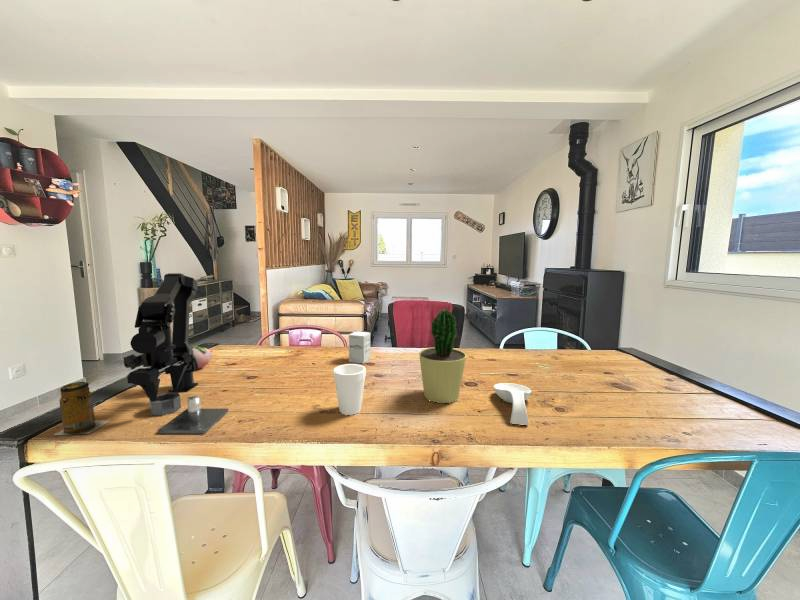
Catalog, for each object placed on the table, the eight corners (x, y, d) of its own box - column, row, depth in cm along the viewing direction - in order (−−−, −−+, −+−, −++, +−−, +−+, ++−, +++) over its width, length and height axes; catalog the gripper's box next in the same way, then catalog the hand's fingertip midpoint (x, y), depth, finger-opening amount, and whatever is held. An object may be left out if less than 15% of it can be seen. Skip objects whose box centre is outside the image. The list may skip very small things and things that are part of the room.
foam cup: (332, 405, 100) (331, 365, 98) (361, 401, 103) (361, 362, 102) (337, 420, 91) (336, 376, 90) (369, 415, 95) (369, 372, 93)
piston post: (187, 411, 96) (185, 389, 95) (228, 411, 96) (226, 389, 95) (158, 433, 84) (155, 408, 83) (204, 433, 84) (202, 408, 83)
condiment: (77, 421, 89) (72, 380, 88) (110, 420, 90) (106, 379, 89) (52, 436, 82) (45, 391, 81) (88, 434, 83) (82, 390, 81)
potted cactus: (430, 383, 118) (432, 303, 114) (470, 393, 110) (474, 307, 106) (409, 399, 105) (411, 309, 101) (454, 411, 97) (457, 313, 93)
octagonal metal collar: (162, 404, 100) (161, 392, 99) (185, 404, 100) (184, 392, 99) (145, 415, 93) (143, 402, 92) (169, 415, 93) (168, 402, 92)
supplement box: (348, 362, 141) (348, 334, 139) (356, 357, 148) (355, 330, 146) (363, 364, 138) (363, 335, 137) (370, 359, 145) (370, 332, 143)
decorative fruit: (180, 371, 128) (178, 346, 127) (199, 364, 136) (197, 341, 135) (199, 373, 126) (197, 348, 124) (216, 366, 133) (215, 343, 132)
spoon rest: (491, 390, 114) (492, 371, 113) (526, 393, 111) (528, 373, 110) (498, 424, 91) (499, 400, 90) (543, 429, 88) (544, 404, 87)
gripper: (155, 335, 103) (159, 381, 105) (102, 353, 84) (109, 409, 86) (190, 335, 103) (194, 382, 105) (146, 353, 84) (151, 409, 87)
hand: (164, 394), depth 96 cm, fingers open, 9 cm apart
